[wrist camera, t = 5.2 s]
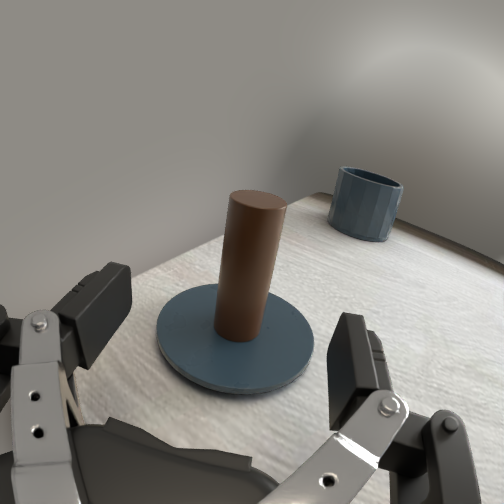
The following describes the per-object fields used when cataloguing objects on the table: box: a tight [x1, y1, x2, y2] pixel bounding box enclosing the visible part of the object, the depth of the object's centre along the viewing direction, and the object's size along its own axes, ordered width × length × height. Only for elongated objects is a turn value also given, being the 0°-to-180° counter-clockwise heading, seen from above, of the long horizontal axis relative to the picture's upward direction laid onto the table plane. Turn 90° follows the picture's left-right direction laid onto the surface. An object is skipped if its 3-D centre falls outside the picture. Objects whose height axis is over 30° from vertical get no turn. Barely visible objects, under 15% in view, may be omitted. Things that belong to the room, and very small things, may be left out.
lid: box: [156, 190, 314, 394], centre depth 17 cm, size 10×10×9 cm
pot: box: [328, 167, 404, 242], centre depth 41 cm, size 9×9×8 cm
